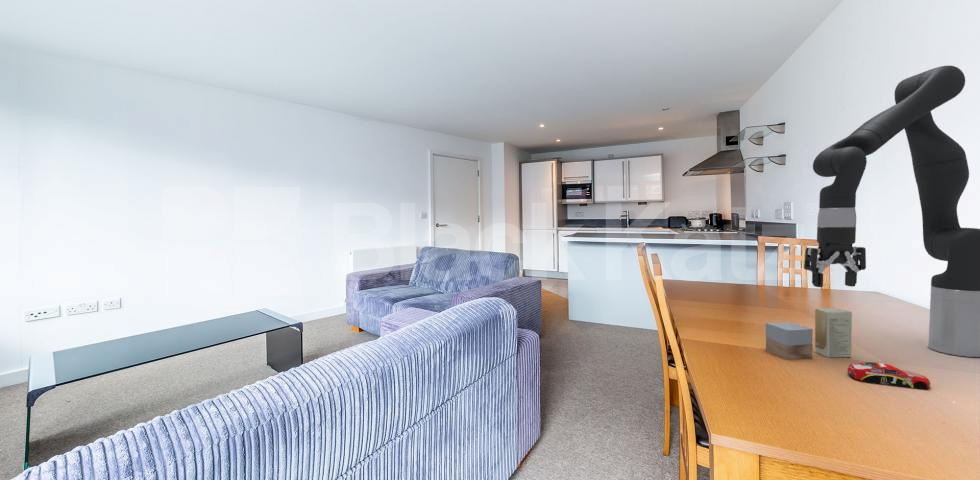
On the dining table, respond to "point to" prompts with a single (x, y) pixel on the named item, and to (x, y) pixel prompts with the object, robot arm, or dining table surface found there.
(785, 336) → the top block
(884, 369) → the race car
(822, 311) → the skincare box
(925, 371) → the dining table surface
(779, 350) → the bottom block
